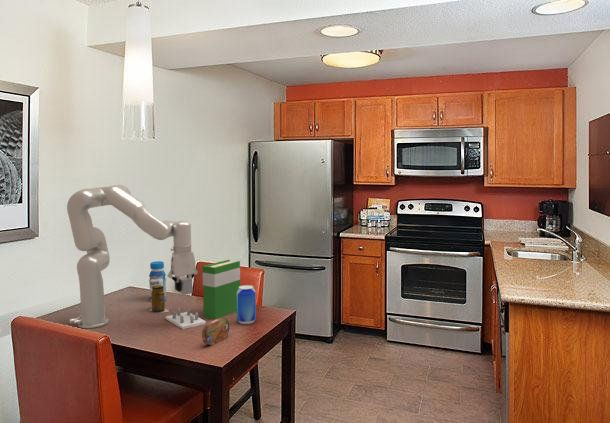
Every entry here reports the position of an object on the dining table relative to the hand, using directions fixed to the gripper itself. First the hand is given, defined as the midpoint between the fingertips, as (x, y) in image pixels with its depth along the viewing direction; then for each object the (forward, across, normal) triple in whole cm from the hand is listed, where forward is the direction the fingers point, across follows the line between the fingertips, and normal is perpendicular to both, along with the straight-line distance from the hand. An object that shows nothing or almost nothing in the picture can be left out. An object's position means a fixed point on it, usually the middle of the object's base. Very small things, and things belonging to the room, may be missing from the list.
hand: (183, 289), depth 208 cm
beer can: (+15, +23, -16) cm, 32 cm away
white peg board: (+15, +1, +1) cm, 15 cm away
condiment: (+15, -2, +24) cm, 29 cm away
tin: (+15, +1, -29) cm, 33 cm away
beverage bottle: (+15, +4, +42) cm, 45 cm away
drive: (+1, 0, 0) cm, 1 cm away
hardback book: (+15, +20, +2) cm, 25 cm away
